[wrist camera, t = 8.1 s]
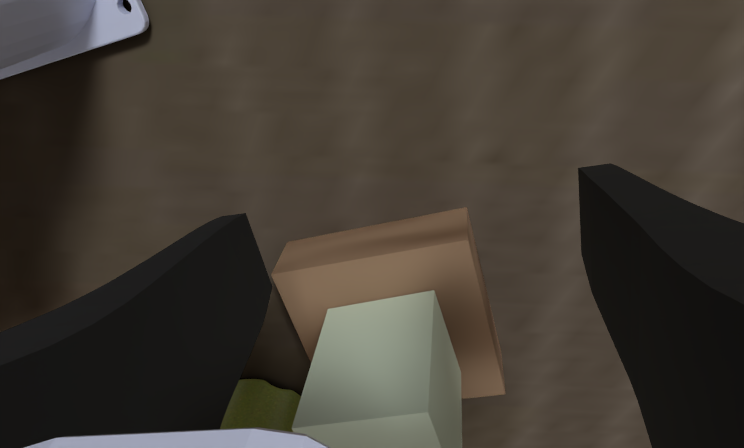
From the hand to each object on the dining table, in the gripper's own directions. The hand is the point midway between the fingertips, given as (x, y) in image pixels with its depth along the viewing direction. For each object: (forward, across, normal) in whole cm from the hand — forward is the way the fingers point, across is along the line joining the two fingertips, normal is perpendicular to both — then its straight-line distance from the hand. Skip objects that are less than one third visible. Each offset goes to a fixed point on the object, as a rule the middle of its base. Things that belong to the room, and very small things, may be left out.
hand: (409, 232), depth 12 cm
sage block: (+7, +3, +9) cm, 12 cm away
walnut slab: (+10, +3, +9) cm, 14 cm away
